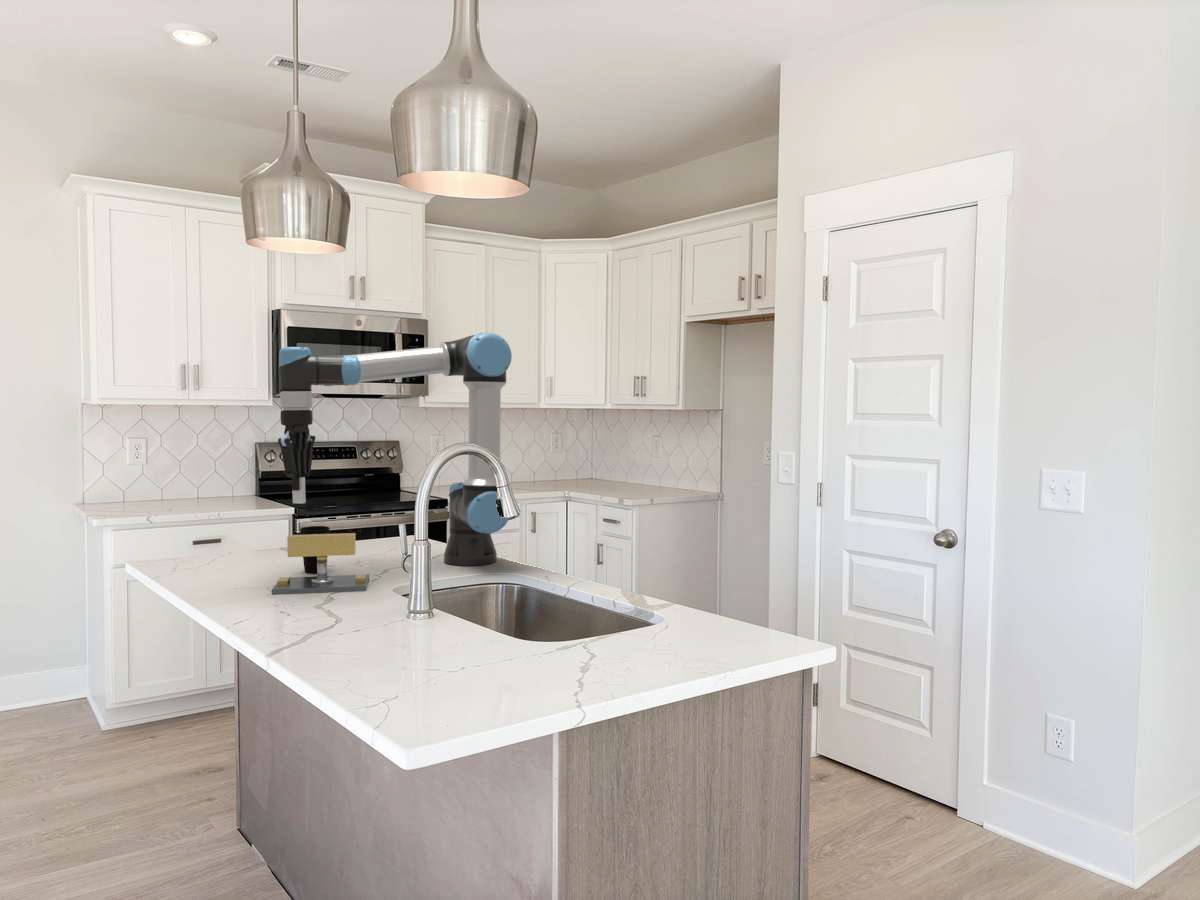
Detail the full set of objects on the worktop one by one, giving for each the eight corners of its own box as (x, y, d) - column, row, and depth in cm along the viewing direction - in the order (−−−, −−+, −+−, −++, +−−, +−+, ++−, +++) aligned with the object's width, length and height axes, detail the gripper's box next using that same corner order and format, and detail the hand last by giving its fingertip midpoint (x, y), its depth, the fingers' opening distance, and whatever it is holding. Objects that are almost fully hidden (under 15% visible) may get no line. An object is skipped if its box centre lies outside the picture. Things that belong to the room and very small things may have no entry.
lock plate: (369, 578, 230) (369, 556, 230) (365, 590, 216) (365, 566, 216) (281, 582, 226) (280, 559, 225) (271, 594, 212) (271, 569, 212)
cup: (324, 574, 235) (324, 530, 234) (296, 574, 235) (295, 530, 234) (334, 569, 243) (333, 526, 242) (306, 569, 243) (305, 525, 242)
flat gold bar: (289, 561, 220) (289, 535, 220) (355, 558, 224) (355, 533, 223) (287, 563, 217) (287, 537, 217) (354, 561, 221) (354, 535, 220)
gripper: (298, 408, 227) (300, 499, 228) (267, 409, 214) (270, 506, 216) (324, 408, 225) (326, 500, 227) (294, 409, 212) (297, 506, 214)
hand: (299, 503), depth 221 cm, fingers closed
